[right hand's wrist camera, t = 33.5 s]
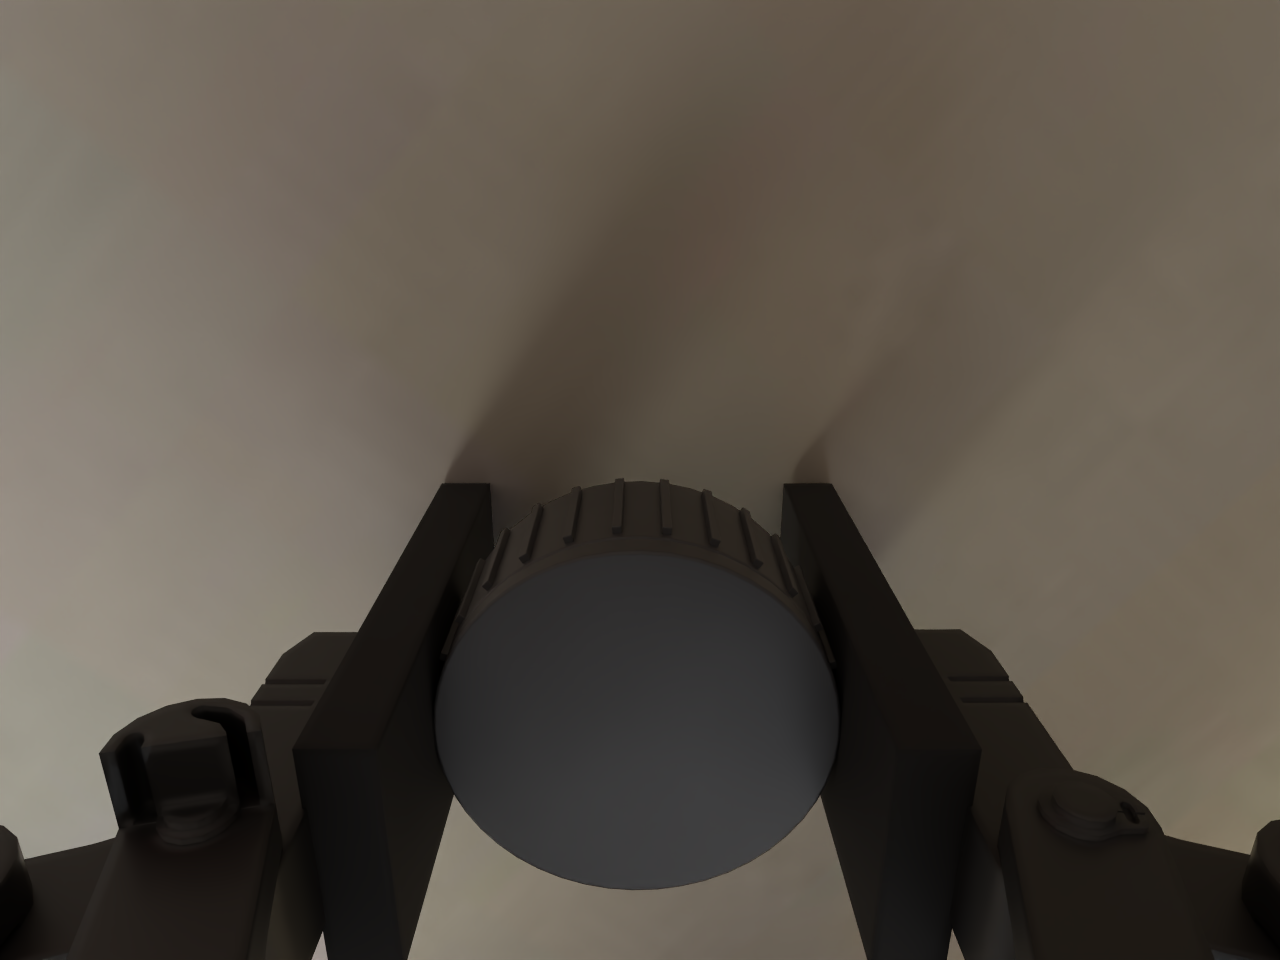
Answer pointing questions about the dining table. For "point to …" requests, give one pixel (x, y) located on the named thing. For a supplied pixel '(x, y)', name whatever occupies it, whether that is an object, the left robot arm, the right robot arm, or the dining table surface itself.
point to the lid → (637, 689)
